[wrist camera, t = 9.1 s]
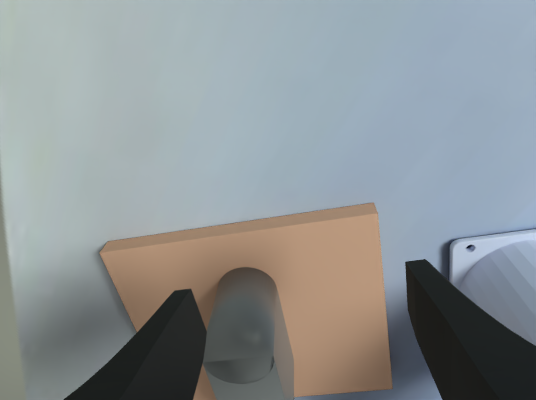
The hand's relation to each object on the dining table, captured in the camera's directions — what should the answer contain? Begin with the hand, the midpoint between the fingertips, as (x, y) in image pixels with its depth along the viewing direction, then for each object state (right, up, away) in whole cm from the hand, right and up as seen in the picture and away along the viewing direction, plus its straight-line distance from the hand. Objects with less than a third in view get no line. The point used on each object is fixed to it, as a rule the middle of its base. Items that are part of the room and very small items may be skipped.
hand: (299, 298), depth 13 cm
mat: (-2, -4, +13) cm, 14 cm away
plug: (-2, -5, +12) cm, 13 cm away
